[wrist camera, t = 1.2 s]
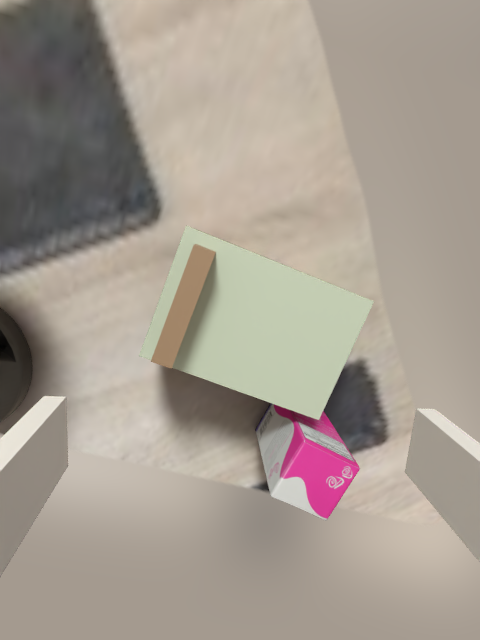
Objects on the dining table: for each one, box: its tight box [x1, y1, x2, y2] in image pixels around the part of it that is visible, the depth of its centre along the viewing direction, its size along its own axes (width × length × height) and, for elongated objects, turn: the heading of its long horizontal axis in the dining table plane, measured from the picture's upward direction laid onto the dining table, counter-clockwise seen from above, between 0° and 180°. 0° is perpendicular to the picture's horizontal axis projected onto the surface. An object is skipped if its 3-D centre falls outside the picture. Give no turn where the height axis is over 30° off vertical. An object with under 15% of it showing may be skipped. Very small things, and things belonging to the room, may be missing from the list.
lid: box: [139, 226, 374, 420], centre depth 30 cm, size 16×11×4 cm
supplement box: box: [255, 403, 360, 520], centre depth 38 cm, size 6×6×12 cm
